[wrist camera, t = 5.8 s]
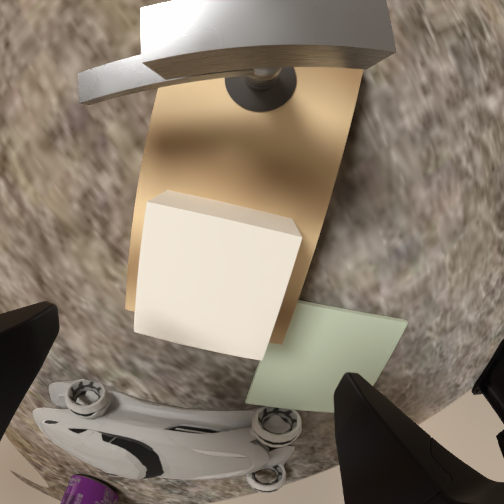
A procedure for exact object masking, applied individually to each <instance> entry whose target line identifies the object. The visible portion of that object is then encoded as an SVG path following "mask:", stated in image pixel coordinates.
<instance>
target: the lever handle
mask: <svg viewBox="0 0 504 504" xmlns="http://www.w3.org/2000/svg"><path fill="white" fill-rule="evenodd" d="M395 52H396V48H395V42H394V37H393V31H392V26H391V21H390V17H389V12H388V8H387V3H386V0H174V1H169V2H164V3H160V4H156V5H151V6H147V7H143V8H141V55H137V56H133V57H130V58H126V59H122V60H119V61H115V62H112V63H108V64H105V65H102V66H99V67H96V68H92V69H89V70H87V71H84V72H81V73H78V92H79V103H81V104H86V105H91V104H94V103H98V102H101V101H105V100H109V99H112V98H116V97H120V96H124V95H128V94H132V93H137V92H141V91H146V90H150V89H155V88H160V87H165V86H171V85H177V84H183V83H189V82H195V81H203V80H210V79H218V78H227V77H238V76H245V82H246V84H247V86H248V87H249V88H250V89H252V90H253V91H256V92H266V91H268V90H270V89H272V88H273V87H274V85H275V83H276V81H277V78H278V76H279V73H280V71H281V68H282V67H330V68H350V69H364V70H366V69H368V68H369V67H371V66H373V65H375V64H376V63H378V62H380V61H381V60H383V59H385V58H387V57H388V56H390V55H392V54H394V53H395Z"/></svg>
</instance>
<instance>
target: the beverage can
mask: <svg viewBox="0 0 504 504" xmlns="http://www.w3.org/2000/svg"><path fill="white" fill-rule="evenodd" d="M118 499H119V497H118V495H117V494H116V493H115V492H114V491H113V490H112V489H111V488H110V487H109V486H108V485H106V484H105V483H103V482H101V481H99V480H97V479H95V478H92V477H89V476H84V475H73V476H71V479H70V481H69V484H68V486H67V489H66V491H65V494H64V496H63V499H62V501H61V504H117V502H118Z"/></svg>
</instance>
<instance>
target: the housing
mask: <svg viewBox="0 0 504 504" xmlns="http://www.w3.org/2000/svg"><path fill="white" fill-rule="evenodd" d="M362 74H363V69H350V68H330V67H282V68H281V71H280V73H279V76H278V78H277V81H276V83H275V85H274V87H273V88H272V89H270V90H268V91H266V92H256V91H253V90H252V89H250V88H249V87H248V86H247V84H246V82H245V76H238V77H227V78H218V79H210V80H203V81H195V82H189V83H183V84H177V85H171V86H165V87H160V88H158V92H157V96H156V100H155V104H154V108H153V112H152V116H151V120H150V125H149V130H148V134H147V139H146V144H145V149H144V154H143V159H142V165H141V170H140V176H139V182H138V188H137V195H136V202H135V209H134V216H133V224H132V232H131V241H130V251H129V262H128V274H127V288H126V306H125V309H126V310H130V311H133V312H135V302H136V289H137V277H138V267H139V257H140V248H141V240H142V232H143V224H144V217H145V210H146V204H147V201H149V200H151V199H152V198H154V197H156V196H158V195H159V194H161V193H163V192H165V191H166V190H169V191H174V192H179V193H184V194H188V195H193V196H198V197H202V198H207V199H211V200H216V201H220V202H225V203H229V204H233V205H238V206H242V207H246V208H250V209H255V210H259V211H263V212H267V213H271V214H275V215H279V216H283V217H287V218H291V219H293V221H294V223H295V225H296V226H297V228H298V230H299V232H300V234H301V236H302V240H301V243H300V247H299V250H298V253H297V256H296V260H295V263H294V266H293V269H292V273H291V276H290V279H289V282H288V285H287V288H286V291H285V295H284V298H283V301H282V304H281V307H280V310H279V313H278V316H277V319H276V322H275V325H274V328H273V331H272V334H271V337H270V340H269V343H274V344H280V345H282V344H283V341H284V338H285V335H286V333H287V330H288V327H289V324H290V322H291V319H292V316H293V313H294V310H295V307H296V305H297V302H298V299H299V296H300V293H301V290H302V287H303V284H304V281H305V278H306V275H307V272H308V269H309V266H310V263H311V260H312V257H313V254H314V251H315V248H316V244H317V241H318V238H319V235H320V232H321V228H322V225H323V222H324V219H325V215H326V212H327V209H328V205H329V202H330V198H331V195H332V191H333V188H334V184H335V181H336V177H337V174H338V170H339V167H340V163H341V159H342V156H343V152H344V148H345V144H346V140H347V137H348V133H349V129H350V125H351V121H352V117H353V113H354V109H355V104H356V100H357V96H358V92H359V87H360V83H361V78H362Z"/></svg>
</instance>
